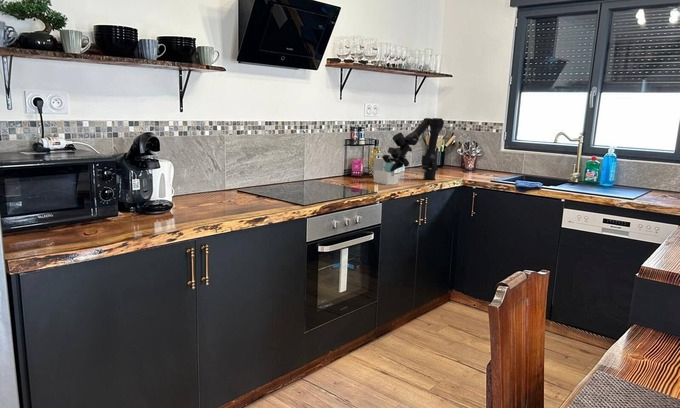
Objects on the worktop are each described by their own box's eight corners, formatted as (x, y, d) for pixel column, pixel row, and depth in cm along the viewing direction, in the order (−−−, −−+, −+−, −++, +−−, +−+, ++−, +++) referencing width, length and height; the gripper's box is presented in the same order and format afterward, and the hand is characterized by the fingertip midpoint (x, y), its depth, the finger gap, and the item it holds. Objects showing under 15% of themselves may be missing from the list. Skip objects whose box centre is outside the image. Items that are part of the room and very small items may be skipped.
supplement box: (382, 178, 324) (383, 159, 321) (372, 177, 328) (373, 158, 326) (388, 177, 330) (389, 158, 327) (378, 176, 334) (379, 157, 332)
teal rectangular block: (389, 182, 310) (390, 162, 308) (393, 182, 307) (394, 163, 304) (382, 182, 306) (383, 162, 304) (386, 183, 303) (387, 163, 301)
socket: (385, 181, 313) (386, 169, 312) (399, 183, 304) (400, 172, 303) (373, 182, 307) (374, 170, 306) (387, 184, 298) (387, 172, 297)
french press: (373, 173, 350) (374, 137, 345) (388, 175, 343) (390, 138, 339) (365, 174, 342) (367, 137, 337) (380, 176, 335) (382, 138, 331)
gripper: (385, 141, 312) (370, 160, 307) (406, 143, 298) (392, 163, 293) (393, 154, 318) (379, 172, 314) (415, 156, 304) (401, 176, 299)
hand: (387, 170), depth 305 cm, fingers open, 5 cm apart
